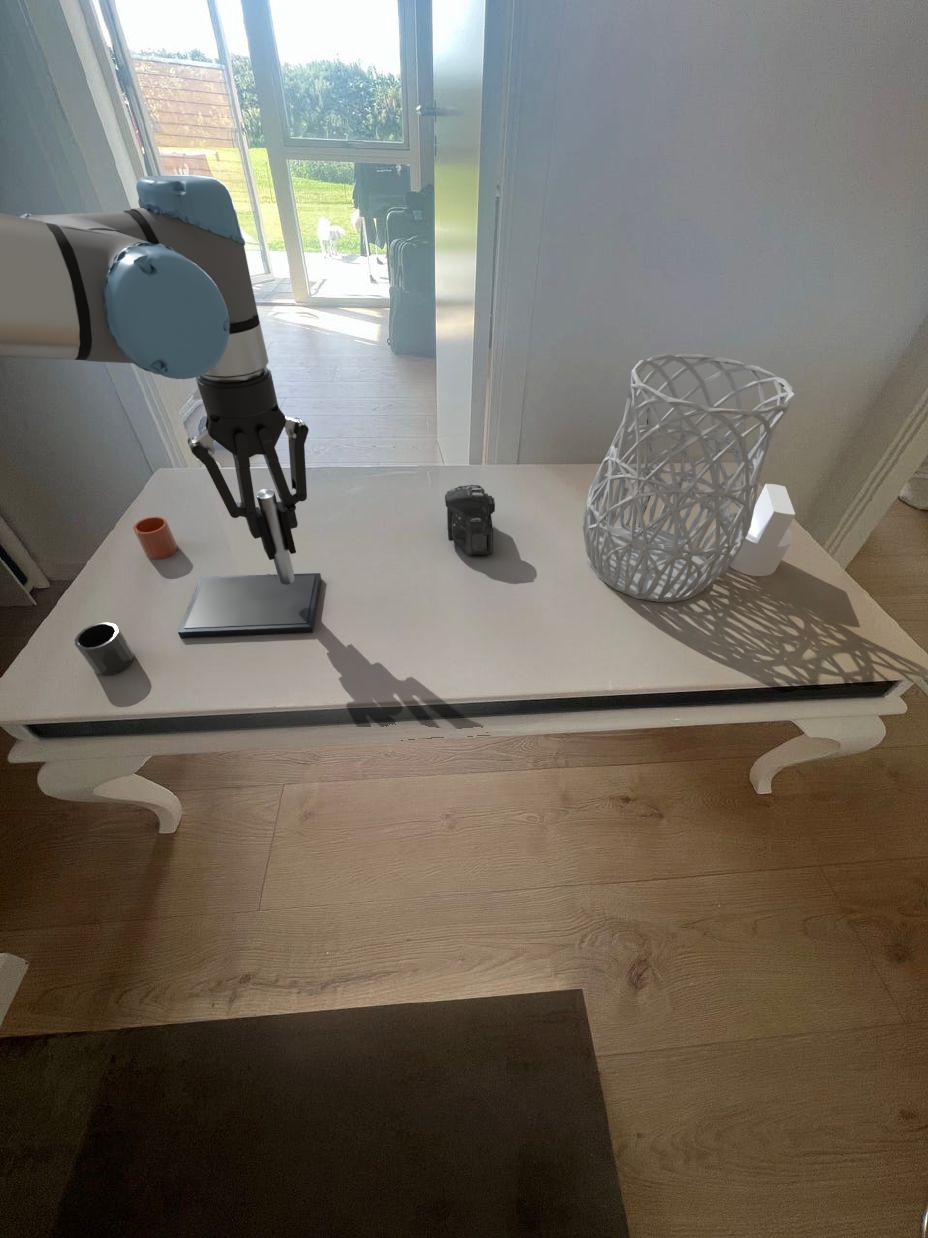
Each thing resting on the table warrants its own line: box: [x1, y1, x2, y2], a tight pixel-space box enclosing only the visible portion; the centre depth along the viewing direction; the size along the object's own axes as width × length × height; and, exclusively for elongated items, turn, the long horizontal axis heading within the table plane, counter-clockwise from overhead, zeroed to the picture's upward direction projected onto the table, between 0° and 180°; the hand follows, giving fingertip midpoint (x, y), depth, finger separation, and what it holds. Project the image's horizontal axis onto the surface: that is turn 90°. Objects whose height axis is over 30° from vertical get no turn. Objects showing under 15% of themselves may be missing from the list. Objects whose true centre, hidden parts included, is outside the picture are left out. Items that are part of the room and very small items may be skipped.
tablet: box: [177, 572, 322, 639], centre depth 77 cm, size 18×12×1 cm, turn 95°
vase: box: [582, 353, 795, 603], centre depth 78 cm, size 24×24×30 cm
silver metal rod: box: [255, 488, 295, 585], centre depth 70 cm, size 2×2×15 cm
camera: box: [444, 484, 496, 556], centre depth 88 cm, size 13×10×10 cm
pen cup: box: [132, 516, 178, 560], centre depth 85 cm, size 5×5×5 cm
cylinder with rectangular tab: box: [728, 483, 796, 577], centre depth 85 cm, size 9×9×12 cm
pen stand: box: [74, 621, 135, 677], centre depth 67 cm, size 5×5×5 cm
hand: (280, 550), depth 71 cm, fingers closed on silver metal rod, 2 cm apart
